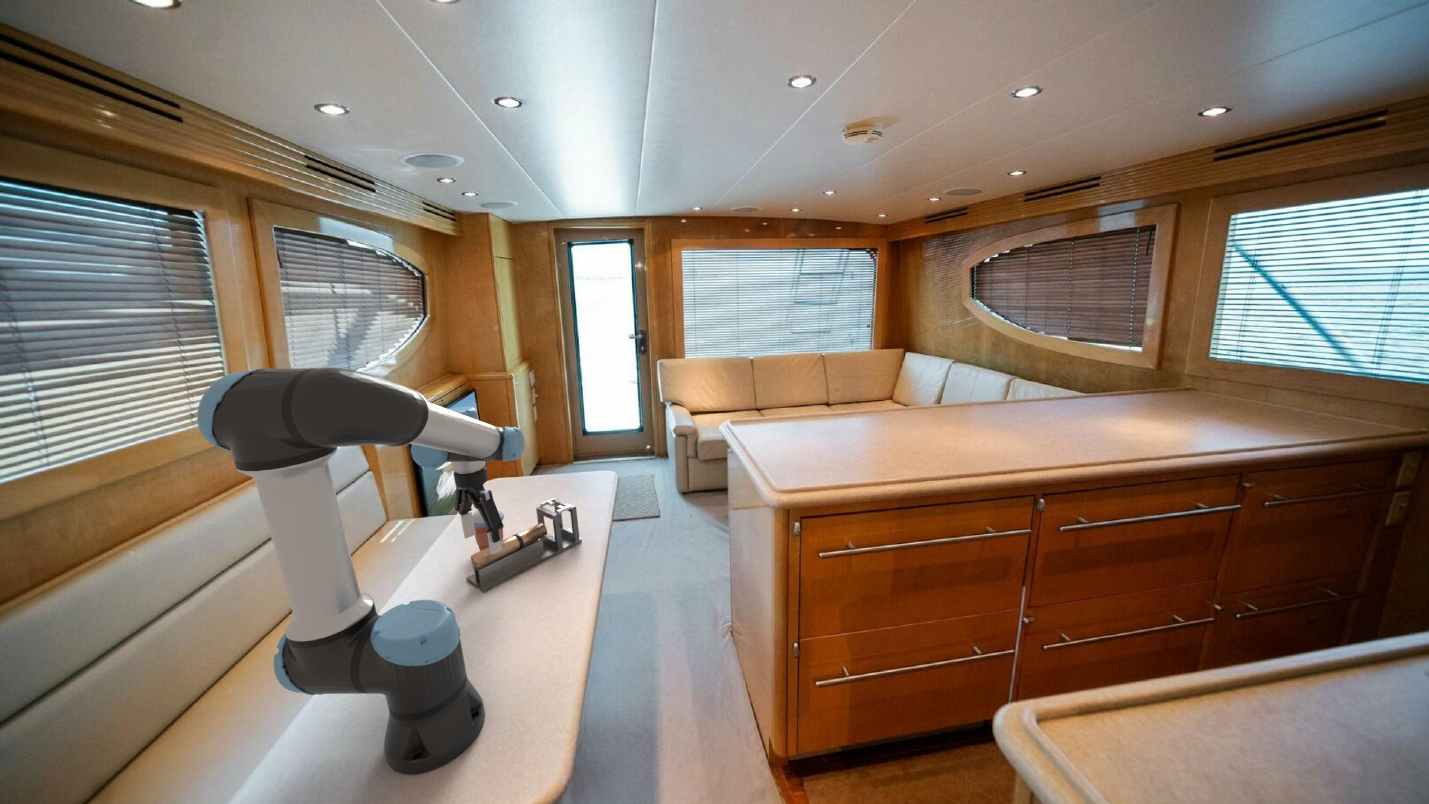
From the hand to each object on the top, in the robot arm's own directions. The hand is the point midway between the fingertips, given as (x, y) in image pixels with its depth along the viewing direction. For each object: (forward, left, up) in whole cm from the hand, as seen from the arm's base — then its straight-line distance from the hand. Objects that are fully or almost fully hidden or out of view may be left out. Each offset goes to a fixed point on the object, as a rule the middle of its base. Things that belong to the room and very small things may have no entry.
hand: (483, 544), depth 126 cm
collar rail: (+11, 0, -11) cm, 16 cm away
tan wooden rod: (+7, 0, -4) cm, 8 cm away
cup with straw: (+8, +14, -11) cm, 19 cm away
